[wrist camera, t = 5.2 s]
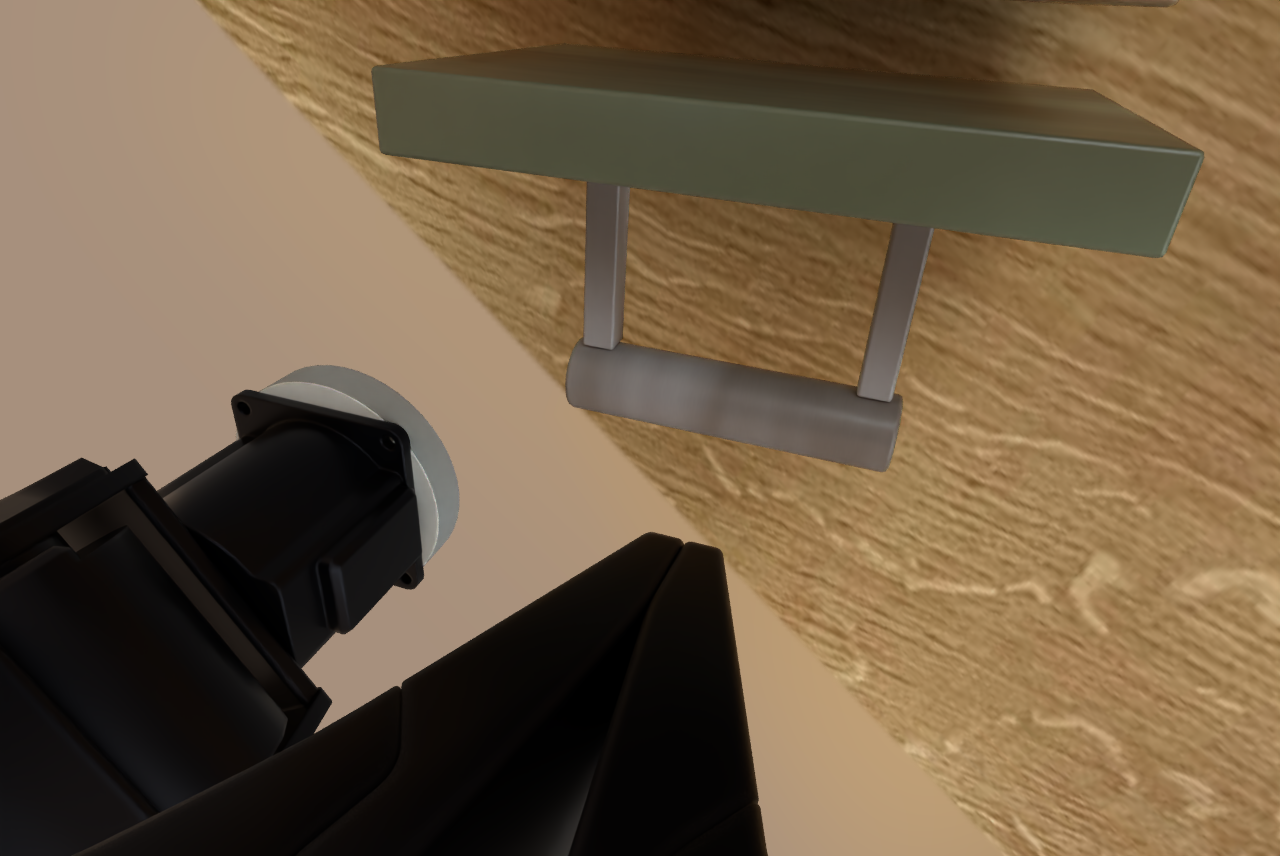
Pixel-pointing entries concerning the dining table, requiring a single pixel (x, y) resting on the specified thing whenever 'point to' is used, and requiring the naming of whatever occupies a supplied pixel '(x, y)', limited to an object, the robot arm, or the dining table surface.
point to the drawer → (789, 195)
